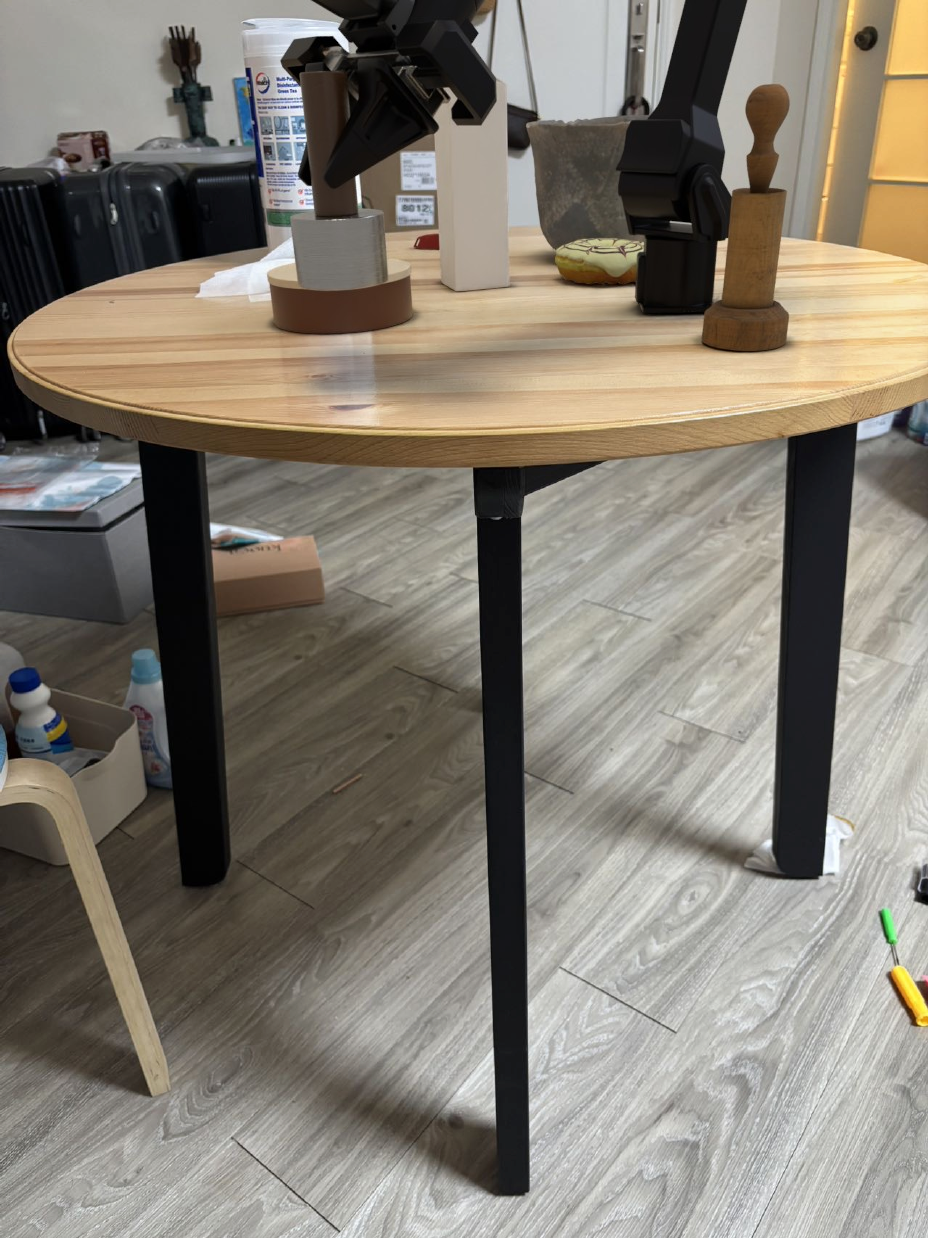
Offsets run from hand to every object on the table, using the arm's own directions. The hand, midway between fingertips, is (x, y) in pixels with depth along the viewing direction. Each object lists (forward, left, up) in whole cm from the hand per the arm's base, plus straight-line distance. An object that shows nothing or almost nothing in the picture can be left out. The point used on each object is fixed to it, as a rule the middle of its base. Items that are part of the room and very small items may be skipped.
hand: (315, 182), depth 65 cm
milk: (-7, -39, -14) cm, 41 cm away
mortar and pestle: (-31, -11, -14) cm, 35 cm away
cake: (+4, -23, -13) cm, 27 cm away
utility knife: (-2, -66, -14) cm, 67 cm away
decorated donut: (-21, -41, -14) cm, 48 cm away
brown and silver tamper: (-1, -1, -7) cm, 7 cm away
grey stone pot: (-21, -56, -14) cm, 61 cm away
